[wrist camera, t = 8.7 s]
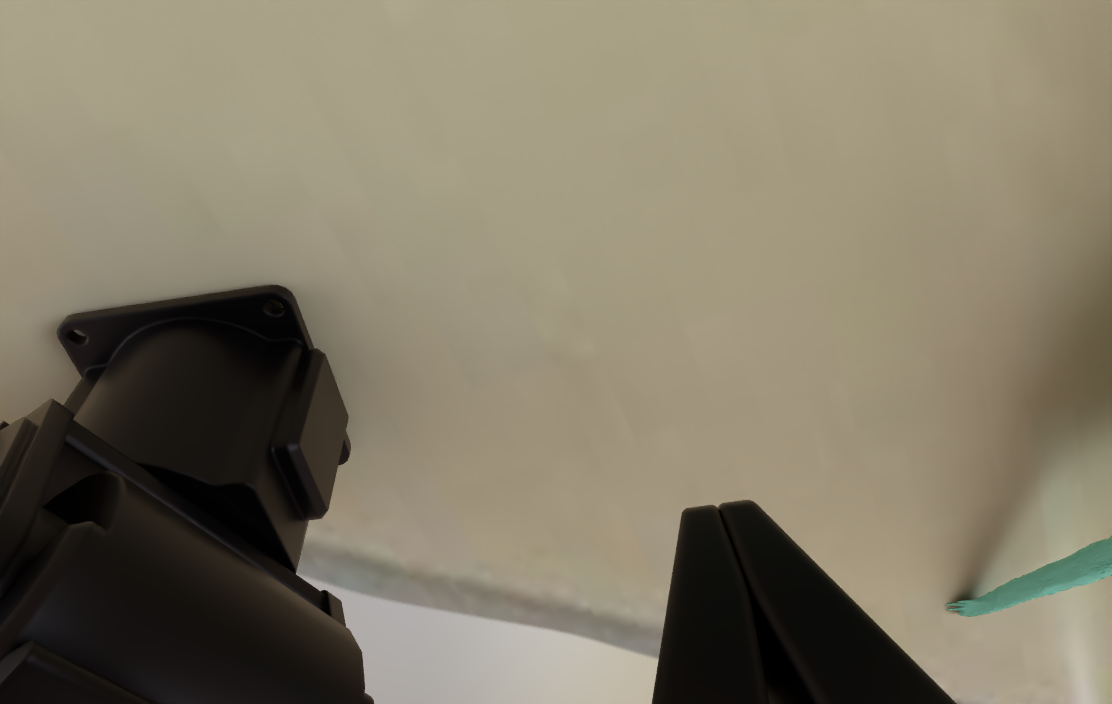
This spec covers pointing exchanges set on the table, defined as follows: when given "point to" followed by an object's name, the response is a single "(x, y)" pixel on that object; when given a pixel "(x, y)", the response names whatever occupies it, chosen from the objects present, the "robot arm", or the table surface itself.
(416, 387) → the table surface
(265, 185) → the table surface
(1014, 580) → the dinosaur
